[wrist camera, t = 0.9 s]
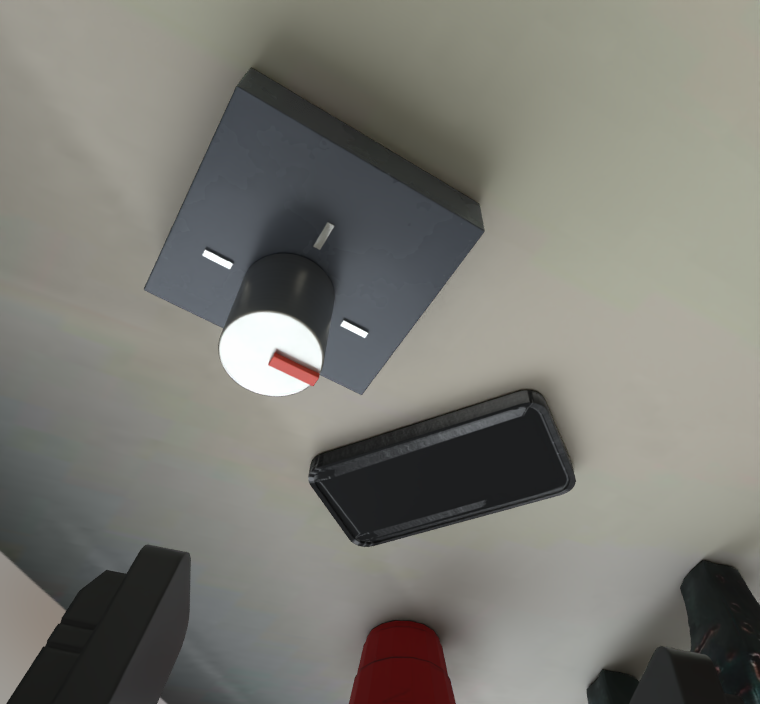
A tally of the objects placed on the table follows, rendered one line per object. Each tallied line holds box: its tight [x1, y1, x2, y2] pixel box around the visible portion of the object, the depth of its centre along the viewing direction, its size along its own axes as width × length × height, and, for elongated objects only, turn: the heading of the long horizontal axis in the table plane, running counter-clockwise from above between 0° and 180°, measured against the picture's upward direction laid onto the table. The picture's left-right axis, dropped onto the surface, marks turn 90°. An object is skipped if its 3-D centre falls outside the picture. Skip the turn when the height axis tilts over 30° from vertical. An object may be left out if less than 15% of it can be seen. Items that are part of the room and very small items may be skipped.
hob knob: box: [218, 253, 335, 396], centre depth 31 cm, size 4×4×5 cm
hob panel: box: [144, 68, 485, 395], centre depth 34 cm, size 12×12×3 cm
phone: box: [308, 390, 576, 547], centre depth 43 cm, size 8×1×15 cm
